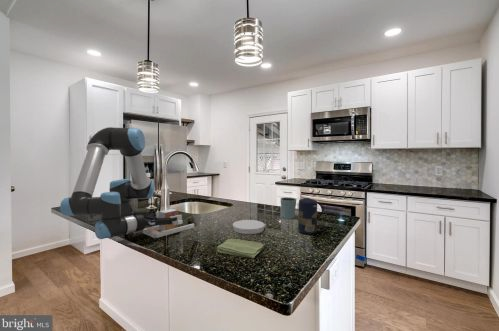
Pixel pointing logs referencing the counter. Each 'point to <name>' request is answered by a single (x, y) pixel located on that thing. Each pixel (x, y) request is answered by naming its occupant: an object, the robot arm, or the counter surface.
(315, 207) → the canister
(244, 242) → the washcloth
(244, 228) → the lid
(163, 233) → the guide channel
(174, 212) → the small box
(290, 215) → the drinking glass
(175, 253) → the counter surface
